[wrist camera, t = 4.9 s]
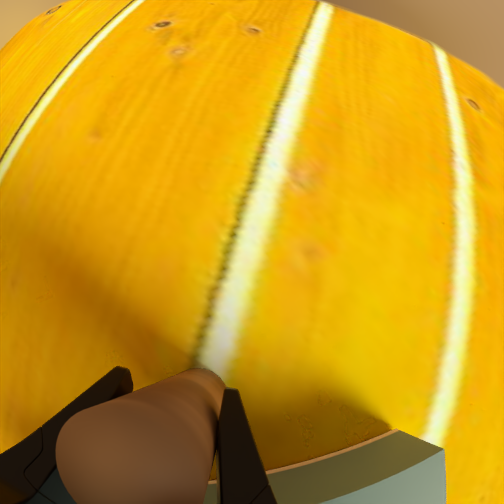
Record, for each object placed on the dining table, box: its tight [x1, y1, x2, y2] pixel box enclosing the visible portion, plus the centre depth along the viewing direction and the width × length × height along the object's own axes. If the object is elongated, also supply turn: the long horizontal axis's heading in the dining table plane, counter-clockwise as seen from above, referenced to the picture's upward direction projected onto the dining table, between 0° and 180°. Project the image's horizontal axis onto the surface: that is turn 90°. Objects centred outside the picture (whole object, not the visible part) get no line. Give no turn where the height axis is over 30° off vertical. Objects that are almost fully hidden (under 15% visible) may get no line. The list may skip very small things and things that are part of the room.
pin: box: [56, 368, 226, 504], centre depth 9 cm, size 3×3×11 cm
